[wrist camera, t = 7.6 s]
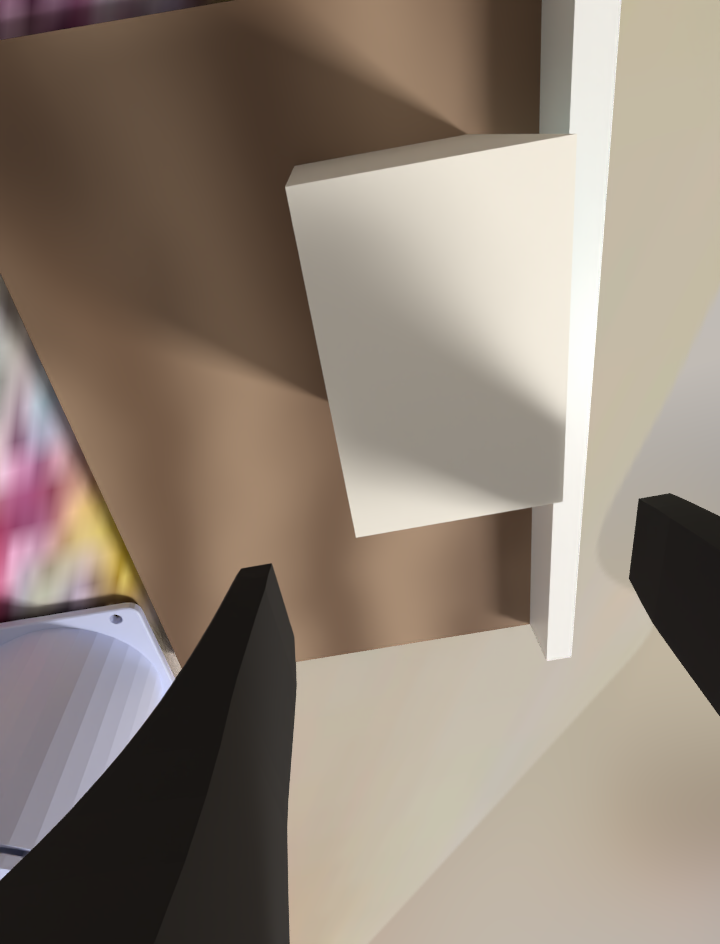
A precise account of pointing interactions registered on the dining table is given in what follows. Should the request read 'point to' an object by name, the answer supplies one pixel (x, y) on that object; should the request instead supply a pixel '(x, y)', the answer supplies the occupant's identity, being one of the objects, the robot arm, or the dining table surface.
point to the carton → (442, 321)
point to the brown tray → (278, 290)
